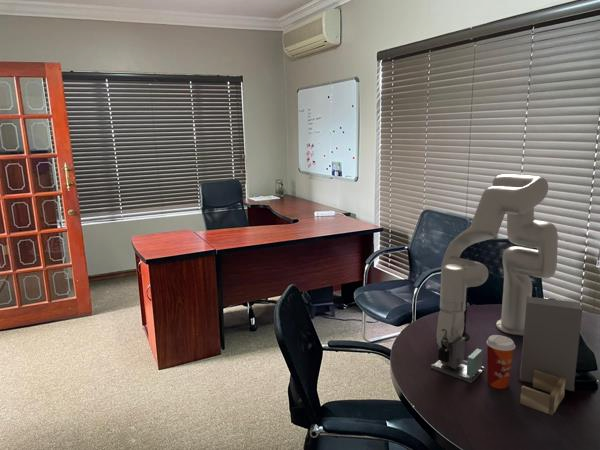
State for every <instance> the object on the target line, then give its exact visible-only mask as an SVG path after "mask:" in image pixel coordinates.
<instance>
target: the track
mask: <svg viewBox="0 0 600 450" xmlns="http://www.w3.org/2000/svg"><path fill="white" fill-rule="evenodd" d="M464 361H467V362H468V360H465V359H464ZM430 368H431V369H432V370H435V371H438V372H440V373H443V374H446V375H449V376H451V377H454V378H456V379H460V380H463V381H465V382H468V383H470V384H472V383H473V382H474V381H475V380H476V379H477V378H478V377H479V376H480V375H481V374H482V373H483V372H484V371H485V366H482V365H481V369H480V370H479V371H478V372H477V373H476V374H475V375H474V376H473V377H470V376H468V375H467V365H464V364H460V365H459V366H458V367H457V368H456V369H454V368H451V367H450V366H448V365H445V364H442V363H441V360H439V359H438V360H437V361H436V362H435V363H432V364H430Z"/></svg>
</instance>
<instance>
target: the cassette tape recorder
mask: <svg viewBox="0 0 600 450" xmlns="http://www.w3.org/2000/svg"><path fill="white" fill-rule="evenodd" d="M582 316H583V307H582V304H581V302H576V301H575V302H574V301H568V300H567V301H566V300H559V299H551V298H550V299H549V298H544V297H535V296H532V297H527V299H526V311H525V323H524V335H522V337H523V338H522V348H521V361H520V363H521V364H520V367H519V381H520V382H526V383H530V384H533V375H534V370H537V371H541V372H544V373H547V374H550V375H553V376H556V377H559V378H561V377H562V376H565V377H566V386H565V391H566V390H567V391H569V392H575V380H576V370H577V362H578V353H579V352H578V351H579V344H580V335H581V328H582V327H581V326H582Z"/></svg>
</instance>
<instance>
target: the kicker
mask: <svg viewBox="0 0 600 450" xmlns="http://www.w3.org/2000/svg"><path fill="white" fill-rule="evenodd" d="M444 340H447V341H448V339H446V338H444ZM443 344H444V345H445V346H446V344H447V343H446V342H443ZM448 350H449V362H448V363H446V362H443V361H441V363H442V364H445V365H448V366H450V367H451V368H454V369H456V368H457V367H458V366H459V365H460V364H464V365H467V375H468V376H470V377H473V376H474V375H475V374H476V373H477V372H478V371H479V370H480V369H481V366H482V365H483V364H482V362H483V349H479V348H476V349H475V350H473V352H471V354H470V355H468V356H467V360H465V354H466V353H465V351H466V341H465V337H461V338H460V337H459V338H457V339H456V340H455V341H454V342H452V343H450V346H449V349H448ZM464 360H465V361H464ZM467 361H468V362H467Z"/></svg>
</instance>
